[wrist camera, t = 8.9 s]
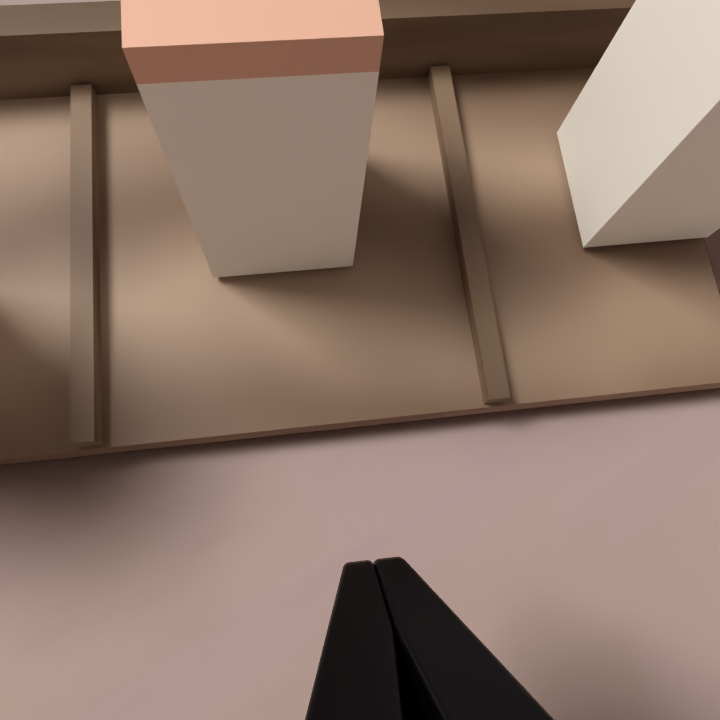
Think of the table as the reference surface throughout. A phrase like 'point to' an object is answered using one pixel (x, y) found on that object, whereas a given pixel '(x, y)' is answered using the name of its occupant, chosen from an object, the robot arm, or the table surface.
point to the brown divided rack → (329, 285)
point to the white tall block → (649, 129)
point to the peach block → (262, 121)
